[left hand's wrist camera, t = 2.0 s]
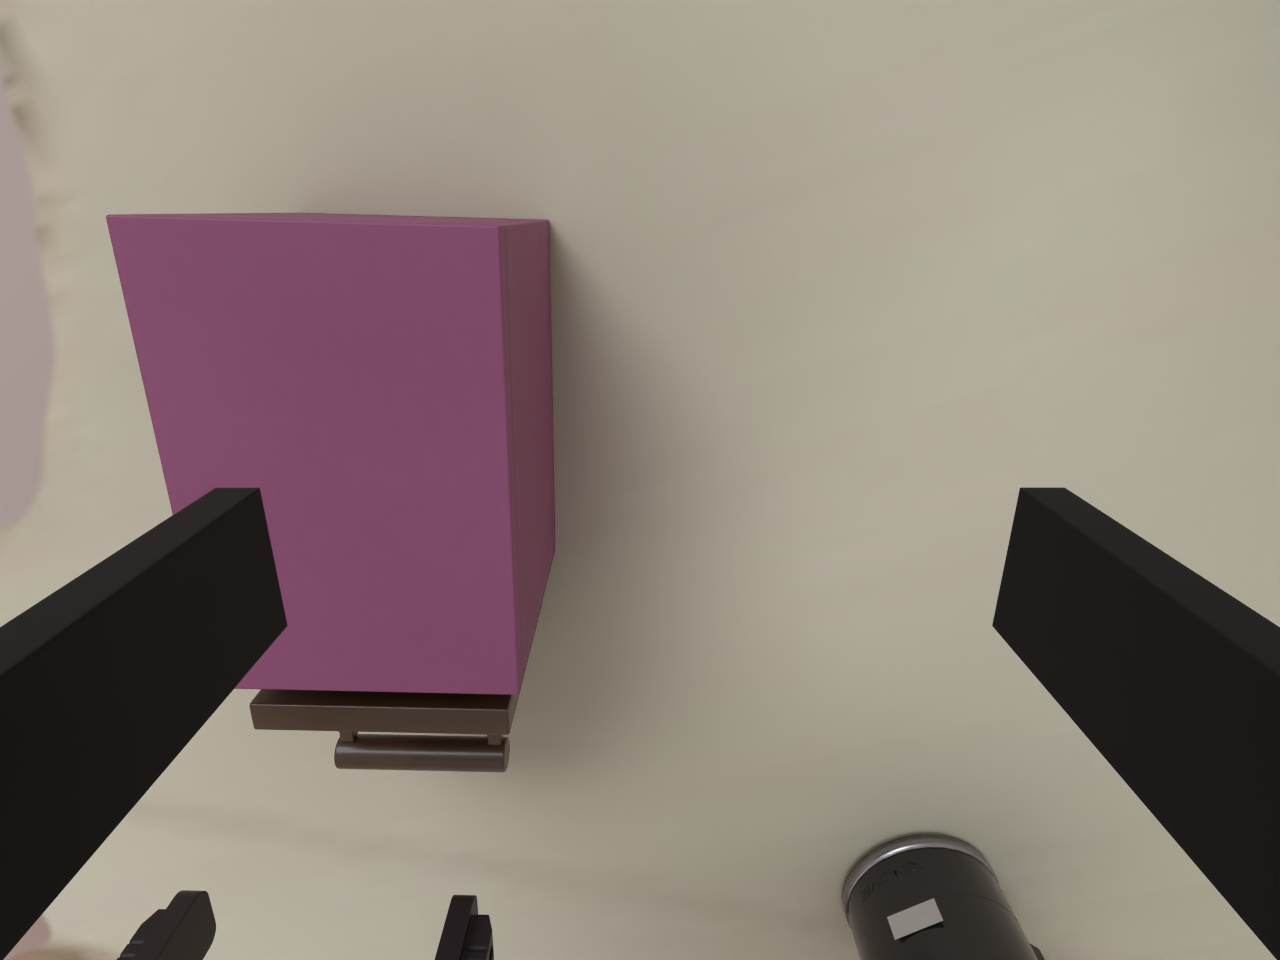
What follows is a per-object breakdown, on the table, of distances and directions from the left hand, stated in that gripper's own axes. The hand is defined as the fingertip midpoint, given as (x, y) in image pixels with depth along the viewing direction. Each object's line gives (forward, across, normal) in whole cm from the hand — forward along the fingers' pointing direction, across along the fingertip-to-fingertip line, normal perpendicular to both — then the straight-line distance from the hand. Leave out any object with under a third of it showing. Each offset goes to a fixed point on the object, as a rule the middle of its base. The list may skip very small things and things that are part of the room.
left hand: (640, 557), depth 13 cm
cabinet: (+22, -10, -2) cm, 24 cm away
